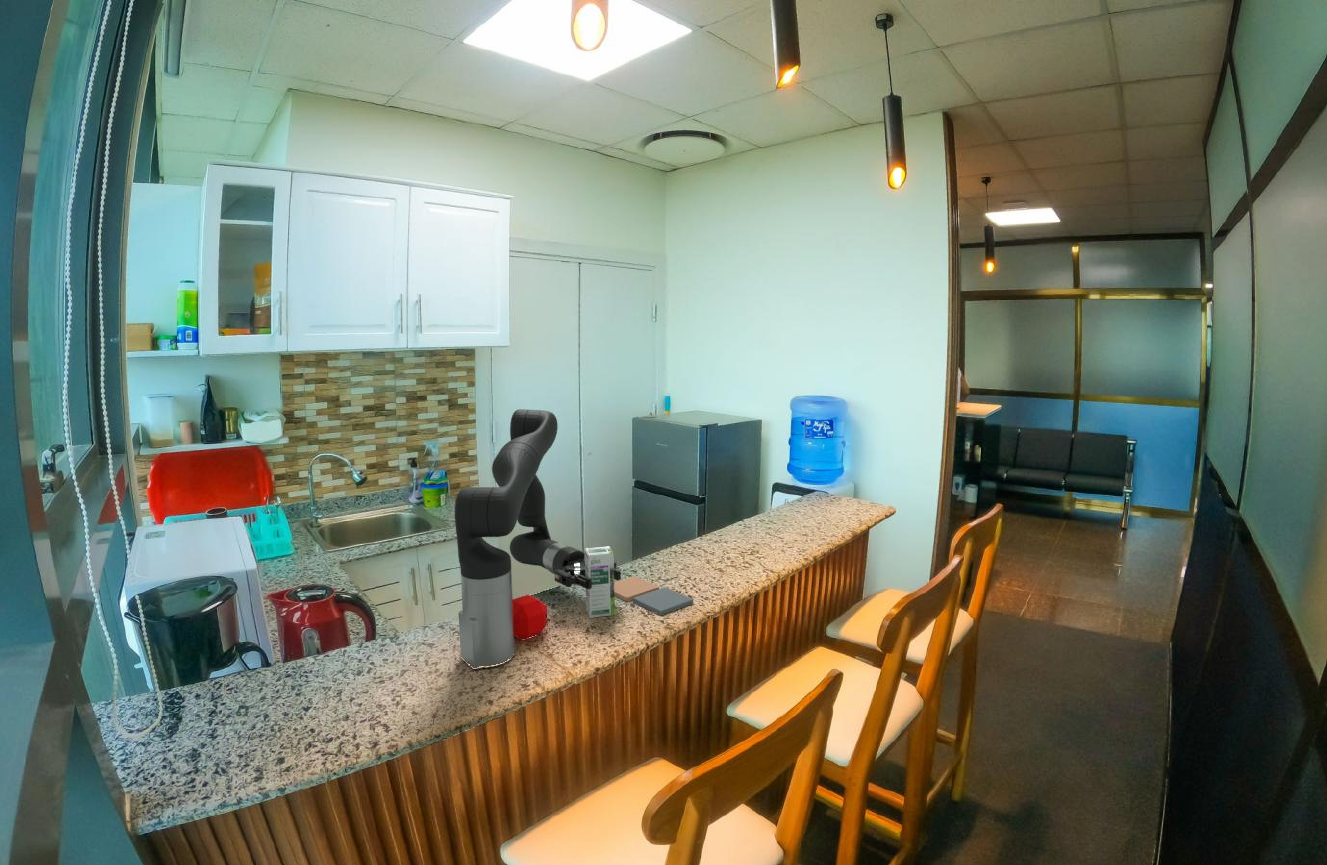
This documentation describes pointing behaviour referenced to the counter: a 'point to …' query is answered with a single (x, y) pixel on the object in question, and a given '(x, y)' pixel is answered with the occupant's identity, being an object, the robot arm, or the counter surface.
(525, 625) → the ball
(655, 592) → the slate tile
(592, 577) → the syrup box
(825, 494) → the counter surface
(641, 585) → the terracotta tile
